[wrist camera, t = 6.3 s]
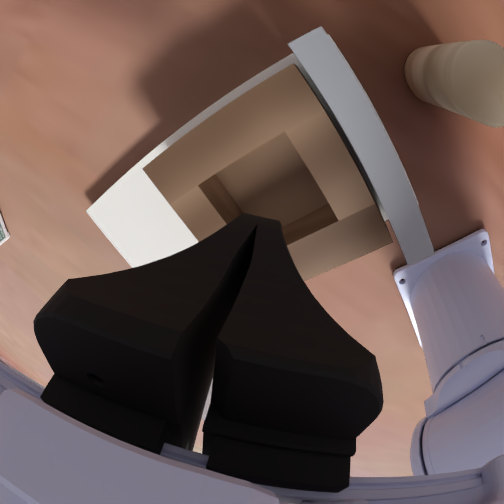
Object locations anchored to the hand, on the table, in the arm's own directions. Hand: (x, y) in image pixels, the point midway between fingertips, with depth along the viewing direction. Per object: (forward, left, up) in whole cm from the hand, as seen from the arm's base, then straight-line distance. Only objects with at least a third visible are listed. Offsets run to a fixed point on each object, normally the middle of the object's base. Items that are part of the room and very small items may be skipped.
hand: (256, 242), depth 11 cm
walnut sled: (0, +1, -8) cm, 8 cm away
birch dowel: (+1, -11, -9) cm, 14 cm away
